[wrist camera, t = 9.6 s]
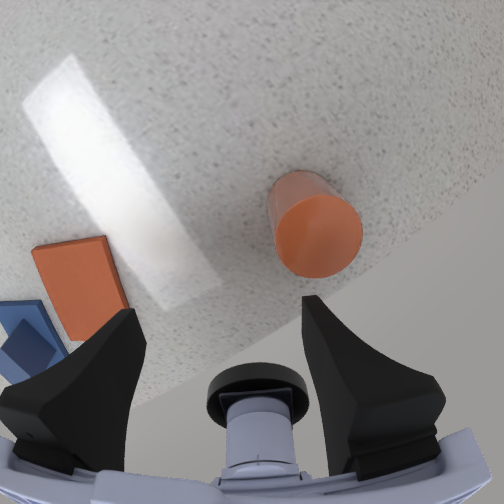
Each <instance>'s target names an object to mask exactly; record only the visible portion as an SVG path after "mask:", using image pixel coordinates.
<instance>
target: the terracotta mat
mask: <svg viewBox="0 0 504 504" xmlns="http://www.w3.org/2000/svg"><path fill="white" fill-rule="evenodd" d="M31 253H32V256H33V259H34V261H35V264H36V267H37V269H38V272H39V274H40V277H41V279H42V281H43V284H44V286H45V288H46V291H47V293H48V295H49V298H50V300H51V302H52V304H53V306H54V308H55V311H56V313H57V315H58V317H59V319H60V321H61V323H62V325H63V327H64V329H65V331H66V333H67V335H68V337H69V338H70V340H71V341H86V340H88V339H89V338H90V337H91V336H92V335H93V334H94V333H96V332H97V331H98V330H99V329H100V328H101V327H102V326H103V325H104V324H105V323H106V322H107V321H108V320H110V319H111V318H112V317H113V316H114V315H115V314H116V313H117V312H119V311H120V310H121V309H129V306H128V303H127V300H126V298H125V295H124V292H123V289H122V286H121V283H120V281H119V278H118V275H117V272H116V269H115V266H114V262H113V259H112V256H111V253H110V250H109V246H108V243H107V240H106V236H100V237H93V238H87V239H81V240H74V241H68V242H62V243H56V244H50V245H44V246H38V247H35V248H34V249H33V250H31Z"/></svg>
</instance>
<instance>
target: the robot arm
mask: <svg viewBox="0 0 504 504" xmlns="http://www.w3.org/2000/svg"><path fill="white" fill-rule="evenodd" d="M302 338H303V345H304V351H305V356H306V359H307V362H308V366H309V369H310V373H311V376H312V379H313V383H314V386H315V389H316V393H317V396H318V400H319V404H320V411H321V417H322V423H323V430H324V437H325V444H326V452H327V460H328V469H329V477H325V478H318V479H312V476H311V475H309V474H307V472H306V471H302V472H300V476H299V468H298V464H296V459H295V451H294V444H293V435H292V430H293V408H292V389H291V388H289V387H287V388H278V389H269V390H258V391H245V392H231V393H221V394H219V399H220V403H221V406H222V409H223V412H224V415H225V418H226V421H227V440H226V469H222V476H221V477H216V478H215V479H214V480H213V481H212V482H211V483H210V484H208V483H205V482H201V481H197V480H189V479H181V478H168V477H157V476H148V475H140V474H132V473H126V472H124V457H125V441H126V431H127V424H128V417H129V411H130V406H131V402H132V399H133V395H134V392H135V389H136V386H137V382H138V379H139V376H140V373H141V369H142V366H143V363H144V357H145V351H146V345H147V342H146V340H145V337H144V334H143V332H142V329H141V326H140V323H139V321H138V318H137V315H136V312H135V309H134V308H129V309H121V310H120V311H119V312H117V313H116V314H115V315H114V316H113V317H112V318H111V319H110V320H108V321H107V322H106V323H105V324H104V325H103V326H102V327H101V328H100V329H99V330H98V331H97V332H96V333H94V334H93V335H92V336H91V337H90V338H89V339H88V340H86V341H85V342H84V343H83V344H82V345H81V346H80V347H78V348H77V349H76V350H75V351H73V352H72V353H71V354H69V355H68V356H67V357H65V358H64V359H62V360H61V361H59V362H58V363H56V364H55V365H53V366H51V367H50V368H48V369H46V370H45V371H43V372H41V373H39V374H37V375H35V376H33V377H31V378H29V379H26V380H24V381H22V382H19V383H16V384H13V385H11V386H8V387H5V388H4V390H3V392H2V394H1V396H0V420H1V421H2V423H3V424H4V425H5V426H6V427H7V428H8V429H9V430H10V431H11V432H12V433H13V434H14V435H15V436H16V437H17V441H16V443H14V442H12V441H11V440H9V439H6V438H4V437H2V436H0V493H2V494H3V495H4V496H6V497H7V498H9V499H10V500H12V501H14V502H16V503H18V504H460V503H462V502H463V501H465V500H466V499H467V498H469V497H470V496H471V495H473V494H474V493H475V492H477V491H478V490H479V489H481V488H482V487H483V486H484V485H485V484H487V483H488V482H489V481H490V480H492V475H491V472H490V470H489V468H488V465H487V463H486V461H485V459H484V456H483V454H482V452H481V450H480V448H479V445H478V443H477V441H476V439H475V437H474V435H473V433H472V431H471V429H470V428H466V429H463V430H460V431H458V432H456V433H453V434H450V435H448V436H446V437H444V438H442V439H441V440H439V441H438V442H437V439H436V437H435V435H436V434H437V429H436V427H435V425H434V423H435V422H436V420H437V418H438V416H439V415H440V413H441V412H442V410H443V408H444V405H445V403H446V397H445V395H444V393H443V391H442V389H441V387H440V386H439V384H438V383H437V381H436V380H435V378H434V377H433V376H431V375H428V374H425V373H422V372H419V371H416V370H414V369H411V368H409V367H407V366H405V365H402V364H400V363H398V362H396V361H394V360H392V359H390V358H389V357H387V356H385V355H383V354H382V353H380V352H378V351H377V350H375V349H373V348H372V347H371V346H369V345H368V344H367V343H365V342H364V341H362V340H361V339H360V338H359V337H357V336H356V335H355V334H354V333H353V332H352V331H350V330H349V329H348V328H347V327H346V326H345V325H344V324H343V323H342V322H341V321H340V320H339V319H338V318H337V317H336V316H335V315H334V314H333V313H332V312H331V311H330V309H328V307H327V306H326V305H325V304H324V303H323V301H322V300H321V299H320V298H319V297H318V296H317V295H311V296H302Z"/></svg>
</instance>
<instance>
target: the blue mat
mask: <svg viewBox="0 0 504 504" xmlns="http://www.w3.org/2000/svg"><path fill="white" fill-rule="evenodd" d="M23 318H24V319H25V320H26V321H27V322H28V323H29V324H30V325H31V326H32V327H33V328H34V329H35V330H36V331H37V332H38V333H39V334H40V335H41V336H42V337H43V338H44V339H45V340H46V341H47V342H48V343H49V344H51V345H52V346H53V347H54V348H55V349H56V350H57V351H56V353H55V354H54V356H53V358H52V360H51V361H50V363H49V365H48V367H47V368H46V369H48V368H50V367H51V366H53V365H55V364H56V363H58V362H59V361H61V360H62V359H64V358H65V357H67V356H68V355H69V354H68V353H67V351H66V349H65V347H64V345H63V344H62V342H61V340H60V338H59V336H58V334H57V333H56V331H55V329H54V327H53V325H52V323H51V321H50V319H49V317H48V315H47V313H46V311H45V309H44V307H43V305H42V302H41V300H36V301H12V302H0V322H1V324H2V326H3V327H4V329H5V331H6V333H7V335H8V336H10V334H11V333H12V332H13V331H14V329H15V328H16V327H17V326H18V324H19V323H20V322H21V321H22V319H23Z"/></svg>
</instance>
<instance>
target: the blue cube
mask: <svg viewBox="0 0 504 504" xmlns="http://www.w3.org/2000/svg"><path fill="white" fill-rule="evenodd" d="M56 351H57V350H56V349H55V348H54V347H53V346H52V345H51V344H49V343H48V342H47V341H46V340H45V339H44V338H43V337H42V336H41V335H40V334H39V333H38V332H37V331H36V330H35V329H34V328H33V327H32V326H31V325H30V324H29V323H28V322H27V321H26V320H25V319H24V318H23V319H22V321H21V322H20V323H19V324H18V326H17V327H16V328H15V329H14V331H13V332H12V333H11V334H10V336H9V337H8V338H7V340H6V341H5V342H4V344H3V345H2V347H1V348H0V374H1V375H2V376H3V377H4V378H5V379H6V380H8V381H9V382H10V383H11V384H12V385H13V384H16V383H19V382H22V381H24V380H26V379H29V378H31V377H33V376H35V375H37V374H39V373H41V372H43V371H45V370H46V368H47V367H48V365H49V363H50V361H51V360H52V358H53V356H54V354H55V353H56Z"/></svg>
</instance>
